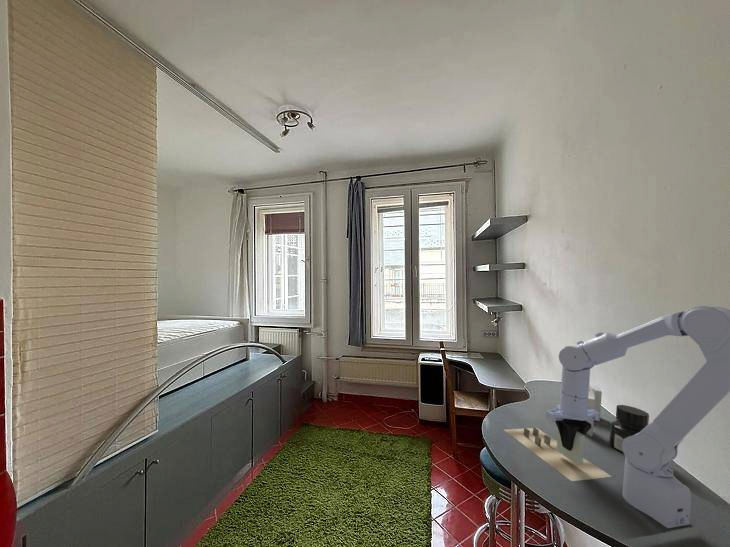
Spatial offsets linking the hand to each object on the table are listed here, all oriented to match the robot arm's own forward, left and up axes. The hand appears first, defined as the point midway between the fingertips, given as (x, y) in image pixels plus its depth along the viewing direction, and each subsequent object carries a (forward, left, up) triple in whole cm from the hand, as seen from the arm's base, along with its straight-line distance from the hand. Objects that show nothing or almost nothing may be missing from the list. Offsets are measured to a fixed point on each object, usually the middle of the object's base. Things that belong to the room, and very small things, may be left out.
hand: (570, 448), depth 74 cm
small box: (+24, -35, -5) cm, 43 cm away
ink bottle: (+3, -25, -5) cm, 26 cm away
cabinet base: (+5, 0, -5) cm, 7 cm away
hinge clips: (+10, 0, -4) cm, 11 cm away
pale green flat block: (0, 0, -2) cm, 2 cm away
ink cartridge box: (+16, -22, -5) cm, 28 cm away
